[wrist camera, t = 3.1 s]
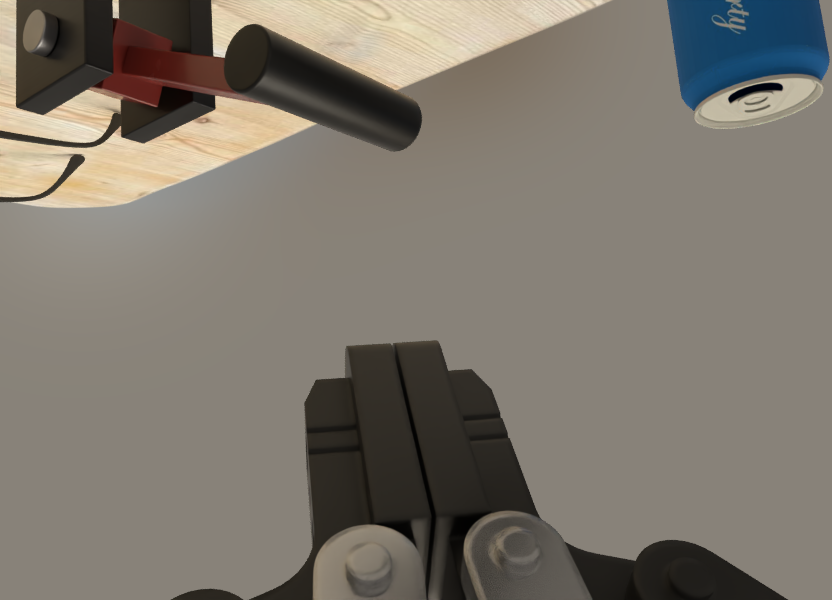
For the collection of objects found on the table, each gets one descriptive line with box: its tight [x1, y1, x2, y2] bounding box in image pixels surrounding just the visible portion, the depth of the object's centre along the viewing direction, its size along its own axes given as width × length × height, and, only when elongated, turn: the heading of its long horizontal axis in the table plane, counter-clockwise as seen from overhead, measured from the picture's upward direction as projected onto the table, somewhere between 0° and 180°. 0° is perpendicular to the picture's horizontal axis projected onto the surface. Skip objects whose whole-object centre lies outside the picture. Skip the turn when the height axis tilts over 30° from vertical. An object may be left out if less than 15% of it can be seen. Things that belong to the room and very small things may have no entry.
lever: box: [87, 18, 422, 151], centre depth 24 cm, size 13×6×2 cm, turn 127°
